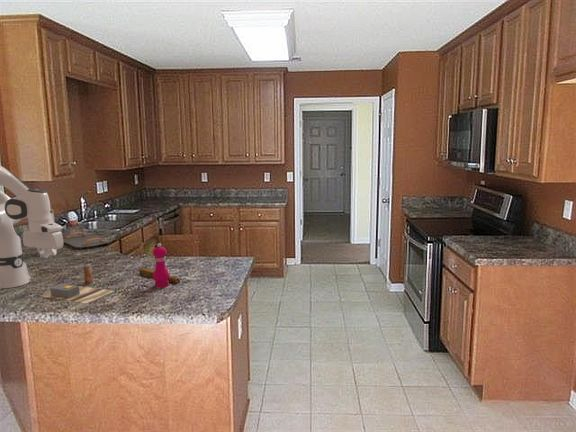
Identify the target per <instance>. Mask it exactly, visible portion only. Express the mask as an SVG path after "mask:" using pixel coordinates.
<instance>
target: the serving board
mask: <svg viewBox="0 0 576 432" xmlns="http://www.w3.org/2000/svg"><path fill="white" fill-rule="evenodd" d="M74 235H75V236H74ZM111 243H112V240H110V239H107V238H104V237H101V236H99V235H96V234H93V233H92V234H89V233H88V234H87V233H84V232H83V231H76V232H72V233H70V234H68V235H67V236H66V237H65V238H64V237H63V244H66V245H69V246H70V247H74V248H75V249H77V251H82V249H83V248H88V247H95V246H100V245H105V244H106V245H107V246H110V244H111Z"/></svg>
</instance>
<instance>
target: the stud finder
mask: <svg viewBox="0 0 576 432" xmlns="http://www.w3.org/2000/svg"><path fill="white" fill-rule="evenodd" d="M49 290H50V293H51V296H55V297H62V298H71V297H73V296H76V295H78V294H80V291H79V285H73V284H67V283H66V284H65V283H60V284H57V285H55V286H53V287H50V289H49Z"/></svg>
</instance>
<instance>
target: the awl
mask: <svg viewBox="0 0 576 432" xmlns="http://www.w3.org/2000/svg"><path fill="white" fill-rule="evenodd" d="M88 260H89V259H88V258H86V259H85V262H86V263H85V264H84V265H83V276H84V284H85V285H91V284H94V278H93V269H92V266H91V264H89V261H88Z"/></svg>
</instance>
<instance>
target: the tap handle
mask: <svg viewBox="0 0 576 432" xmlns="http://www.w3.org/2000/svg"><path fill="white" fill-rule="evenodd" d="M154 271H155V269H152V268H148V267H147V268H143V267H142V268H139V270H138V273H139V274H141V273H142V274H141V275H142V276H144V275H146V276H145V277H148V276H149V278H151V277H153V274H154ZM168 281H169V283H172V284H173V283H174V284H175V285H177V284H180V282H181V279H180V278H179V277H175V276H172V275H169V279H168Z"/></svg>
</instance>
